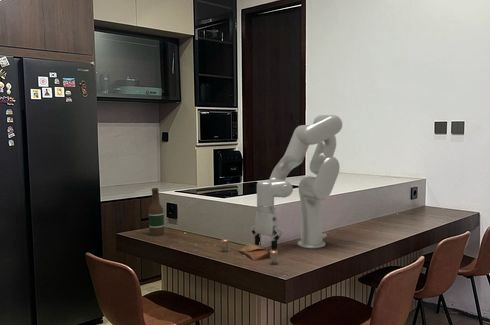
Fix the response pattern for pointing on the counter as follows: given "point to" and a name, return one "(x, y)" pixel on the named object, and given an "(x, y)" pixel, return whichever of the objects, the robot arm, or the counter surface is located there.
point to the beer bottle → (156, 215)
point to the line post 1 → (225, 245)
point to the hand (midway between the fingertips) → (265, 247)
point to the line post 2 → (273, 257)
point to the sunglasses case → (255, 252)
